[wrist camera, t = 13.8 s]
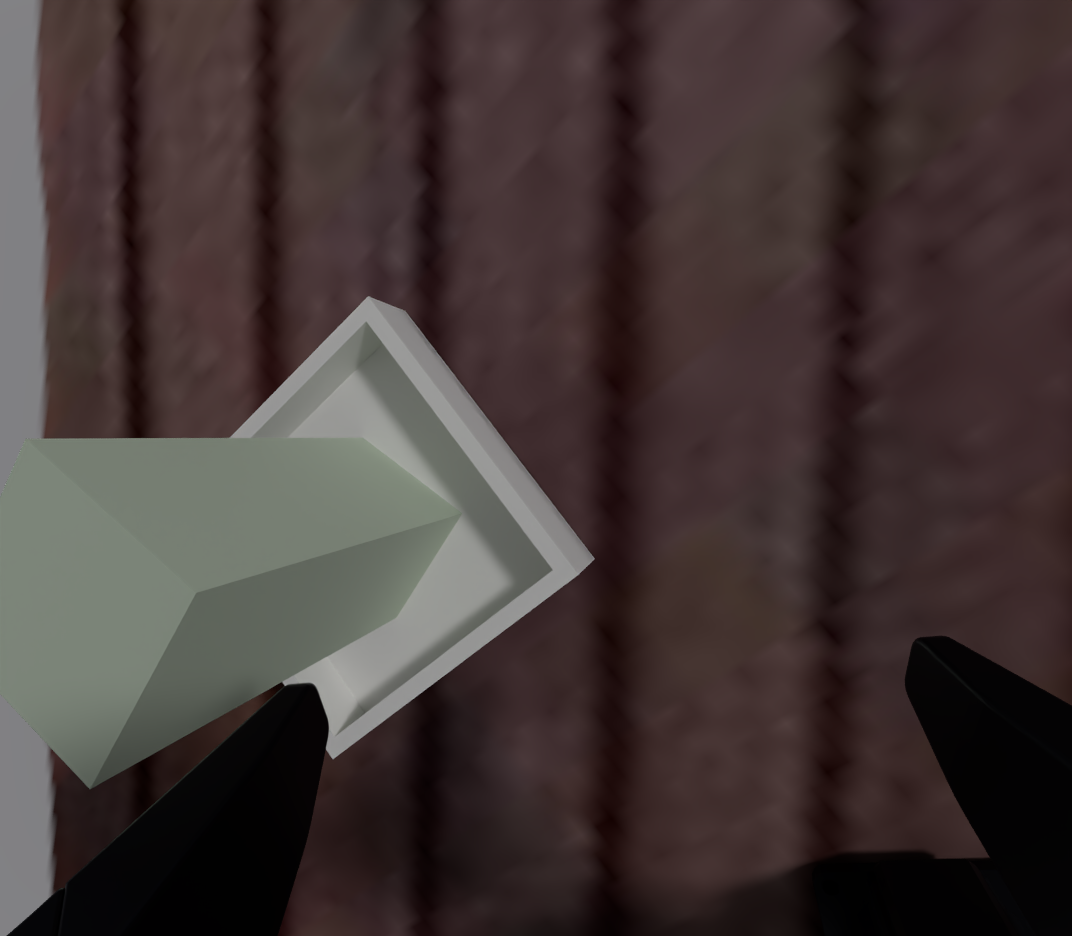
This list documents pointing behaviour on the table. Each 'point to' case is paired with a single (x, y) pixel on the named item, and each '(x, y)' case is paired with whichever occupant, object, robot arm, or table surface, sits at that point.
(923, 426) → the table surface
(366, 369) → the tray
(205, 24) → the table surface
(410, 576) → the handle block
